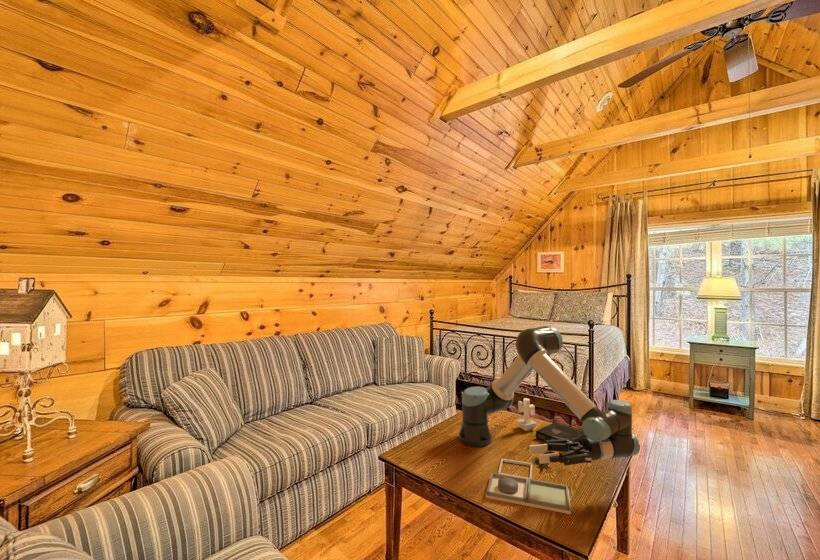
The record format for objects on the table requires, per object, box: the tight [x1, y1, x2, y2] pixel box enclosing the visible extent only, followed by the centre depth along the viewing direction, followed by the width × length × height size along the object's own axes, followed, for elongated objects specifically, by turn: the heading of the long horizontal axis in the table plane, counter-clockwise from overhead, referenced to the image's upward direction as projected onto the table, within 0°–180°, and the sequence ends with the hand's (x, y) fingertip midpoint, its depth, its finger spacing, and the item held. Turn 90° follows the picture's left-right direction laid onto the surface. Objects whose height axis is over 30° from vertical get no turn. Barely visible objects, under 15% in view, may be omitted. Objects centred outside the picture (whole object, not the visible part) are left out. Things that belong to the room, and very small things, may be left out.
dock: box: [485, 472, 572, 515], centre depth 135 cm, size 27×13×3 cm, turn 70°
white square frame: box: [497, 458, 533, 482], centre depth 150 cm, size 12×12×1 cm
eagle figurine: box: [530, 451, 556, 475], centre depth 134 cm, size 8×7×9 cm
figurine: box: [515, 397, 538, 432], centre depth 189 cm, size 7×9×15 cm
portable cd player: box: [535, 421, 587, 450], centre depth 177 cm, size 16×17×4 cm
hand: (534, 454), depth 131 cm, fingers closed on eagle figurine, 6 cm apart
